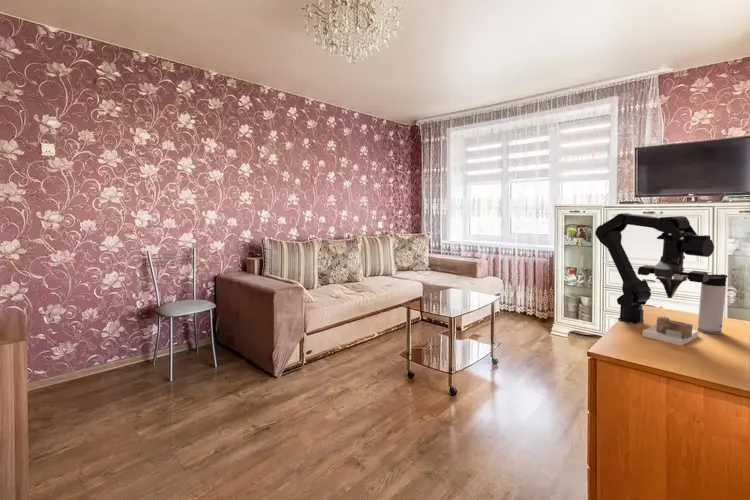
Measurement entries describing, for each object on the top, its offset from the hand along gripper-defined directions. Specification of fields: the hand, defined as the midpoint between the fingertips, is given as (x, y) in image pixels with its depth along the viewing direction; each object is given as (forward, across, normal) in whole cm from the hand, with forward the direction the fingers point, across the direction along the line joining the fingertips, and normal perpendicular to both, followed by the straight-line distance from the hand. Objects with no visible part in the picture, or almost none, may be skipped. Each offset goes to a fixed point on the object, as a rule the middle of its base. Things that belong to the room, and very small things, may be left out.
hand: (669, 297), depth 132 cm
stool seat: (+12, +2, -5) cm, 13 cm away
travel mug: (+12, +8, +11) cm, 18 cm away
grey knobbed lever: (+10, +4, -9) cm, 14 cm away
